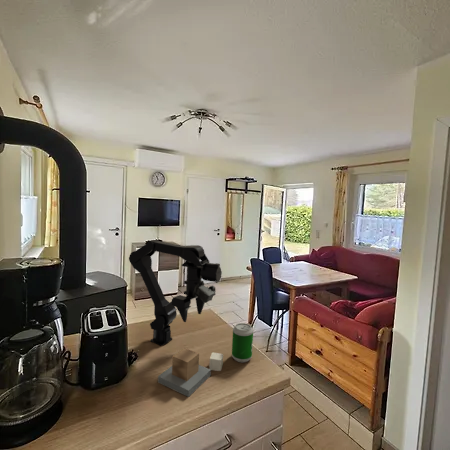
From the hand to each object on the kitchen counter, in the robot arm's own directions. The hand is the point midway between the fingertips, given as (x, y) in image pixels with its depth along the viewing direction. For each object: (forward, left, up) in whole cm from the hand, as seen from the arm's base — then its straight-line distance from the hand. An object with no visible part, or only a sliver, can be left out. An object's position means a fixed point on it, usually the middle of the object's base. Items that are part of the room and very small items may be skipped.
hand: (192, 317), depth 105 cm
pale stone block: (+15, -5, -12) cm, 20 cm away
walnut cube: (+10, -16, -10) cm, 22 cm away
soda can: (+20, +5, -12) cm, 24 cm away
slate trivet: (+10, -16, -12) cm, 23 cm away
